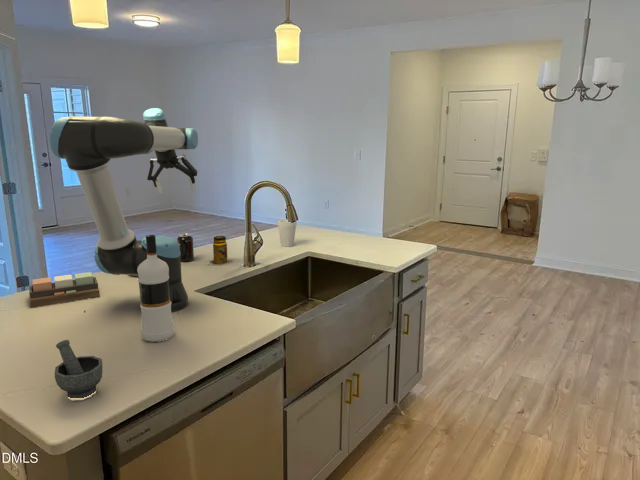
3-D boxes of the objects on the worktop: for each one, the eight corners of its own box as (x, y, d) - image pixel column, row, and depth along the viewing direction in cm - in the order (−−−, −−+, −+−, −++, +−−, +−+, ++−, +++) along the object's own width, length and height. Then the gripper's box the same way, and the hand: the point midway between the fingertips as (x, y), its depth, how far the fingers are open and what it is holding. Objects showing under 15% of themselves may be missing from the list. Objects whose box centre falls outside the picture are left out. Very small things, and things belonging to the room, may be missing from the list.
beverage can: (196, 258, 217) (194, 233, 214) (190, 262, 210) (189, 236, 207) (181, 258, 217) (180, 233, 215) (176, 262, 211) (174, 236, 208)
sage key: (93, 283, 168) (92, 276, 168) (76, 286, 166) (75, 278, 165) (92, 279, 173) (91, 271, 173) (75, 281, 171) (74, 274, 170)
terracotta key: (52, 289, 162) (51, 281, 161) (33, 292, 159) (32, 284, 159) (51, 284, 167) (50, 277, 166) (33, 287, 164) (32, 279, 164)
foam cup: (274, 246, 240) (274, 221, 237) (283, 242, 248) (283, 218, 245) (291, 248, 236) (291, 223, 233) (299, 244, 244) (299, 220, 241)
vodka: (166, 344, 131) (158, 239, 124) (135, 342, 132) (125, 238, 125) (180, 330, 140) (173, 232, 133) (151, 328, 141) (142, 231, 134)
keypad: (99, 297, 167) (98, 284, 166) (31, 307, 157) (29, 295, 156) (95, 286, 178) (94, 275, 177) (31, 296, 168) (29, 284, 167)
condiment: (228, 264, 208) (226, 238, 205) (208, 265, 206) (207, 238, 204) (228, 260, 215) (227, 234, 212) (209, 260, 214) (208, 235, 211)
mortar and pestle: (114, 389, 108) (109, 341, 105) (76, 410, 100) (70, 358, 97) (83, 377, 113) (77, 331, 111) (45, 396, 105) (38, 346, 103)
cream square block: (73, 286, 165) (72, 278, 165) (55, 289, 162) (54, 281, 162) (72, 281, 170) (71, 274, 170) (54, 284, 168) (54, 276, 167)
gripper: (196, 139, 188) (207, 183, 202) (133, 145, 187) (149, 188, 202) (194, 149, 183) (206, 193, 197) (129, 155, 182) (146, 198, 196)
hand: (177, 190), depth 199 cm, fingers open, 13 cm apart
